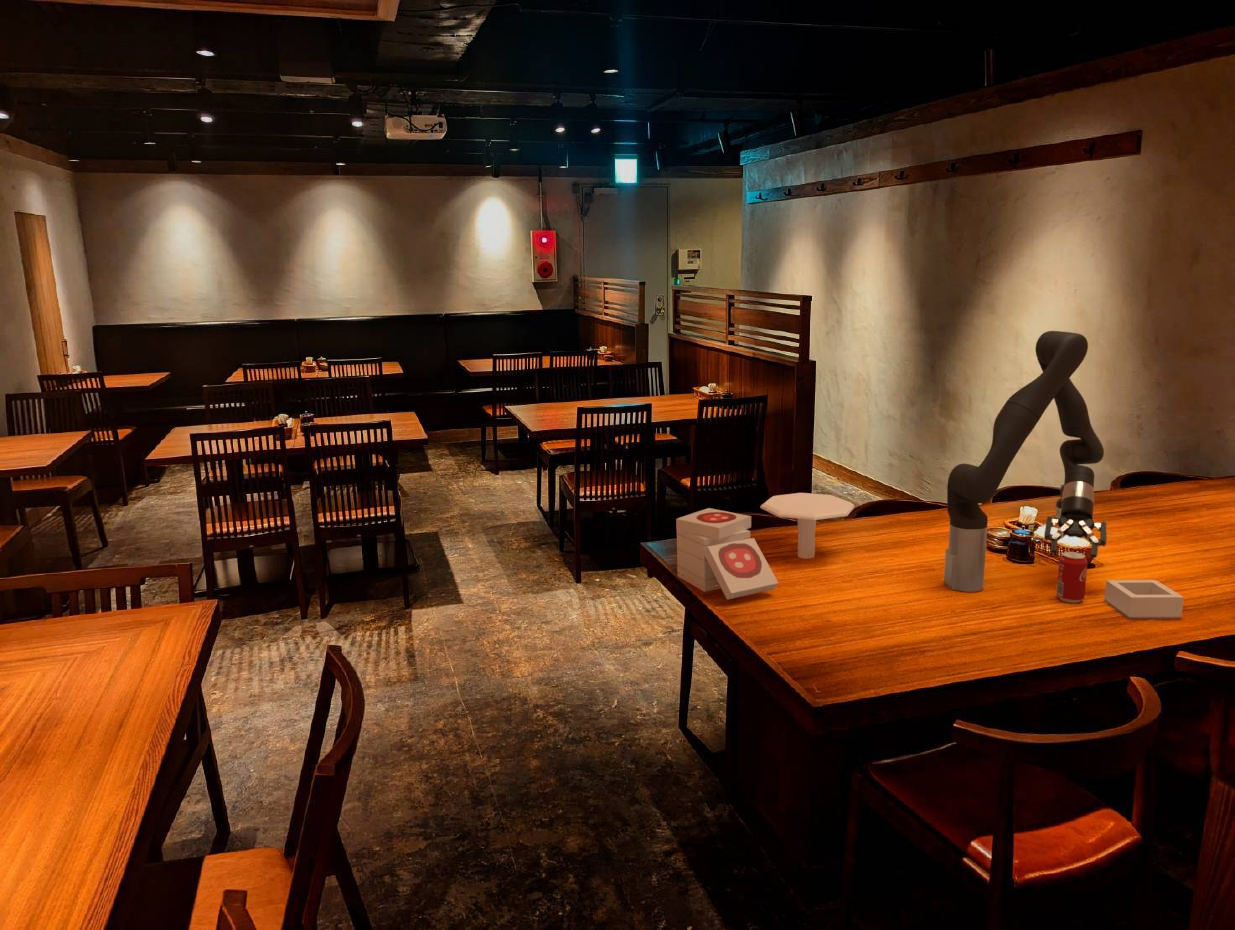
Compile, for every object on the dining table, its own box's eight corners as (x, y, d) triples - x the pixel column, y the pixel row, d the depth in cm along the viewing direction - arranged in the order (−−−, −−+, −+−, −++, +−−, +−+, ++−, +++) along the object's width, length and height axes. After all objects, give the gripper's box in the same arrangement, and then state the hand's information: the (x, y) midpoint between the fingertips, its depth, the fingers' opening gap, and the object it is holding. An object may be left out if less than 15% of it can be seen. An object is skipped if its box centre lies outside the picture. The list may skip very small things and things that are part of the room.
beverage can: (1087, 604, 213) (1091, 559, 210) (1060, 603, 214) (1064, 558, 212) (1079, 595, 219) (1083, 551, 216) (1053, 594, 220) (1056, 550, 218)
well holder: (1129, 619, 203) (1131, 597, 202) (1104, 600, 215) (1106, 580, 214) (1181, 618, 202) (1183, 597, 201) (1153, 600, 214) (1155, 579, 213)
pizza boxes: (725, 608, 217) (724, 541, 214) (668, 575, 244) (667, 514, 240) (785, 595, 225) (786, 530, 222) (724, 564, 252) (724, 505, 248)
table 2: (817, 578, 237) (818, 521, 234) (740, 556, 258) (740, 503, 254) (872, 555, 255) (874, 502, 252) (797, 537, 276) (797, 487, 272)
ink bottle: (1051, 522, 284) (1054, 487, 281) (1055, 516, 291) (1058, 482, 288) (1084, 526, 278) (1087, 491, 276) (1087, 520, 285) (1090, 485, 283)
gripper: (1048, 492, 226) (1043, 545, 219) (1109, 497, 219) (1106, 552, 212) (1047, 507, 232) (1042, 559, 224) (1107, 512, 225) (1104, 566, 218)
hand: (1073, 555), depth 218 cm, fingers open, 8 cm apart
